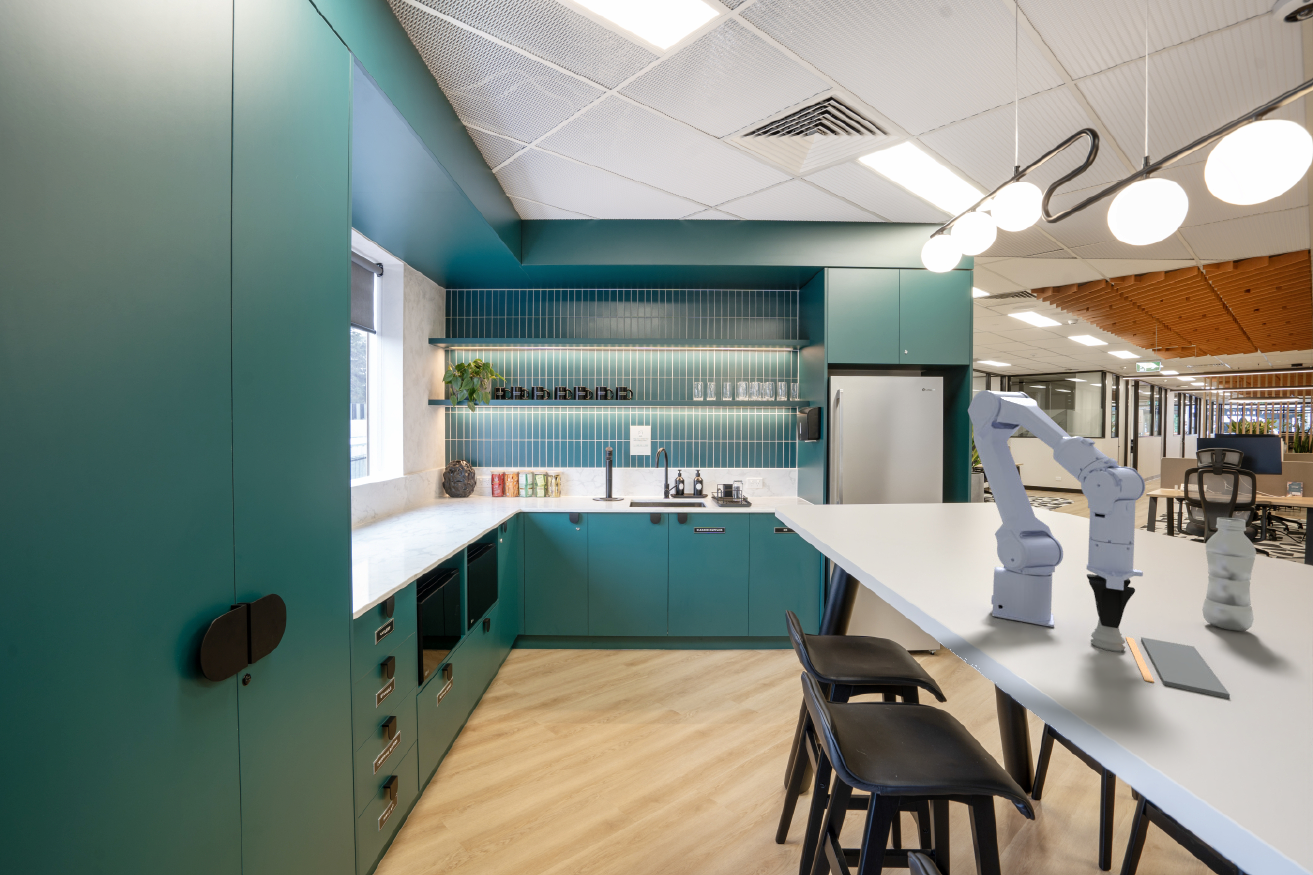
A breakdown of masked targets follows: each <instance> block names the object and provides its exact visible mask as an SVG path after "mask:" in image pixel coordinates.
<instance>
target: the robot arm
mask: <svg viewBox="0 0 1313 875" xmlns="http://www.w3.org/2000/svg"><path fill="white" fill-rule="evenodd" d="M967 412H968V415H969V419H970V420H971V424H972V427H973V428H972V429H973V431H972V432H973V441H974V442H973V443H974V446H975V448H976V452H977V454H978V458H979V459H980V462H981V466H982V468H983V470H984V474H985V477H986V479H987V483H988V486H989V488H990V491H991V494H992V496H993V499H994V502H995V504H996V508H997V510H998V511H997V512H998V514H999V517H1000V519H1001V522H1002V523H1001V525H1000V526H999V528H998V529H997V530H996V531H995V533H994V535H995V538H996V544H997V546H996V547H997V548H996V549H997V550H996V553H997V557H998V559H999V561H1000V563H1001V564H1002V565H1003V566H1002V567H1001V566H995V567H994V568H993V569H994V570H993V571H994V572H993V588H992V589H993V590H992V591H993V592H992V595H991V602H990V603H991V605H992V614H991V615H992V617H996V618H999V619H1006V620H1012V621H1019V622H1022V623H1023V622H1024V623H1028V624H1034V625H1041V626H1045V627H1052V628H1053V627H1055V621H1054V620H1055V619H1054V613H1052V602H1053V601H1052V597H1053V573H1055V572H1056V567H1057V566H1060V564H1061V563H1062V561H1063V559H1064V550H1063V546H1062V544H1061V543H1060V541H1059V540H1058V539H1057V538H1056V537H1055V536H1054V535H1053V533H1052V532H1051V529H1050V526H1048V525H1047V524H1046V523H1044V522H1043V521H1042V520H1040V519H1038V517H1036V515H1035V512H1034V510H1033V507H1032V504H1031V502H1030V499H1029V497H1028V494H1027V491H1026V489H1025V486H1024V484H1023V482H1022V478H1021V476H1020V473H1019V470H1018V468H1017V466H1016V462H1015V460H1014V457H1013V455H1012V451H1011V450H1010V446H1009V443H1008V441H1009V439H1010V437H1011V436H1012V437H1013V435H1014V434H1015V433H1016V432H1017V431H1018V430H1019V429H1020V428H1021V427H1022V428H1024V429H1026V430H1027V431H1028V432H1029V433H1031V434H1032V435H1033V436H1035V437H1036V438H1037V439H1039V441H1041V442H1043V443H1044V444H1046V446H1048V447H1049V448H1051V449H1052V450H1053V455H1052V457H1053V460H1054V461H1055V462H1056V463H1057V464H1058V465H1060V466H1061V467H1062V468H1063V469H1064V470H1066V471H1067V472H1068V473H1069V474H1070V475H1071V476H1072V477H1073V478H1075V479H1076V480H1077V481H1078V482H1080V487H1081V492H1082V494H1083V496H1085V498H1086V499H1087V508H1088V509H1089V524H1088V528H1089V529H1088V532H1089V533H1088V554H1087V555H1088V557H1087V564H1086V568H1085V569H1086V571H1089V572H1091V573H1092V574H1091V573H1087V574H1086V577H1087V579H1088V583H1089V585H1090V587H1091V590H1092V591H1093V596H1094V600H1095V607H1096V611H1097V615H1098V619H1099V618H1100V622H1101V625H1102V626H1106V627H1112V628H1118V627H1119V628H1120V625H1121V622H1122V617H1123V615H1124V612H1125V609H1126V606H1127V603H1128V602H1129V601H1130V599H1131V597H1132V596H1134V593H1135V592H1136V589H1135V587H1132V586H1130V584H1131V580H1130V579H1131V578H1133V577H1143V576H1144V573H1143V571H1142V570H1141V569H1136V568H1135V569H1134V557H1135V556H1134V553H1135V530H1136V529H1135V528H1136V527H1135V525H1136V503H1137V502H1136V501H1137V500H1139V499H1140V498H1142V497H1143V495H1144V493H1145V491H1146V482H1145V480H1144V477H1143V476H1142V475H1141V474H1140V473H1139V472H1138V470H1136V468H1134V467H1131V466H1120V465H1119V464H1118V461H1117V460H1116V459H1115V458H1114V457H1109V456H1107V455H1106V454H1105V453H1104V452H1102V451H1101V450H1100V449H1099V448H1097V447H1096V446H1095V444H1096V442H1095V441H1094V440H1093V439H1092V438H1090V437H1089V438H1086V437H1084V436H1070V435H1069V433H1068V432H1067V431H1065V429H1063V428H1062V427H1061V426H1059V424H1057V423H1056V422H1055V421H1054V420H1053V419H1052V418H1051V417H1050V416H1049V415H1048V414H1046V412H1044V410H1042V409H1041V408H1040V407H1039V405H1038V402H1037V400H1035V399H1033V398H1031V397H1030V396H1029V395H1028V394H1026V393H1025V392H1023V391H1015V392H1014V391H993V390H992V391H991V390H986V389H985V390H981V391H979V392H977V393H976V394H975V395H974V397H973V398H972V400H971V402H970V404H969V407H968V409H967ZM1096 602H1097V603H1096ZM1098 612H1099V613H1098Z"/></svg>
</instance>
